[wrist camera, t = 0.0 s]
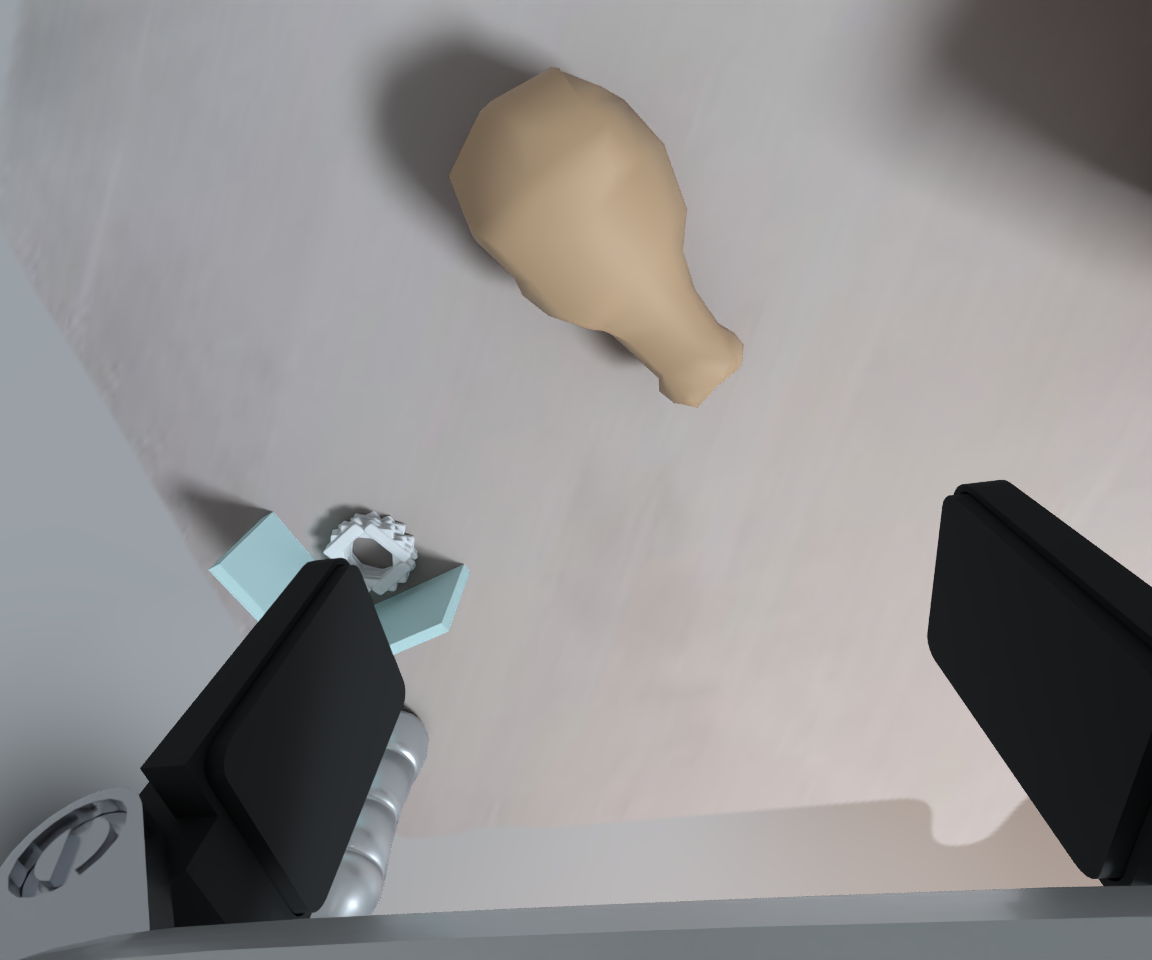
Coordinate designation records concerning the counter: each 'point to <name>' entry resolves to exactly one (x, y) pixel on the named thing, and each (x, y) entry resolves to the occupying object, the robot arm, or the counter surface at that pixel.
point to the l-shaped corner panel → (278, 556)
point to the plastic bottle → (377, 824)
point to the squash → (592, 225)
